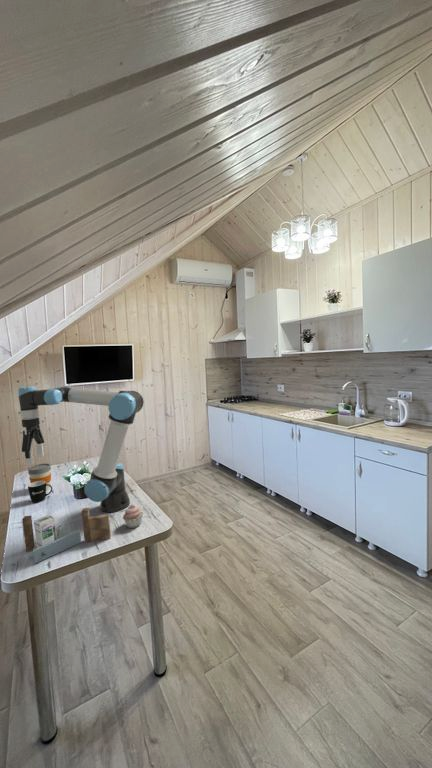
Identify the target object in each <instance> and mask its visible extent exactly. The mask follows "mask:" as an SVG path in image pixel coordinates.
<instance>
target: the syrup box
mask: <svg viewBox="0 0 432 768" xmlns="http://www.w3.org/2000/svg"><path fill="white" fill-rule="evenodd" d="M33 526H34V528H33V529H34V534H35V535H34V536H35V540H36V541H35V542H36V543H35V544H36V549H37V548H39V547H41V546H43V545H46V544H48V543H50V542H53V541H55V540H57V530H56V523H55V517H53V516H52V515H50V514H47V515H45V516H43V517H40V518H37V519H35V520H34V521H33Z"/></svg>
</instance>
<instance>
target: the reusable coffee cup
mask: <svg viewBox="0 0 432 768" xmlns="http://www.w3.org/2000/svg"><path fill="white" fill-rule="evenodd" d="M51 469H52V468H51V464H50V463H38V464H35V465H34V464H33V465H32V466H29V467H28V472H27V473H28V475H29V482H30V484H31V483H33V482H37V481H45V482H46V484H49V485H51V481H52V473H51ZM49 490H51V487H50V486H46V492H47V491H49Z"/></svg>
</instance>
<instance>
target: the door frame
mask: <svg viewBox="0 0 432 768" xmlns="http://www.w3.org/2000/svg"><path fill="white" fill-rule="evenodd" d="M80 511H81V518H82V519H81V521H82V531H83V539H84V543H92V542H96V541H101V540H102V541H104V540H109V539H111V538H112V533H111V532H112V531H111V524H110V514H101V515H93V516H90V515H91V514H90V508H89V507H84V508H82V509H81V510H80ZM21 520H22V529H23V536H24V545H25V546H24V547H25V552H30V551H32V552H33V550H34V549H36V548H35V547H36V543H35V535H34V534H35V533H34V528H33V526H34V525H33V518H32V515H25V516H23V518H22V519H21Z"/></svg>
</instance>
